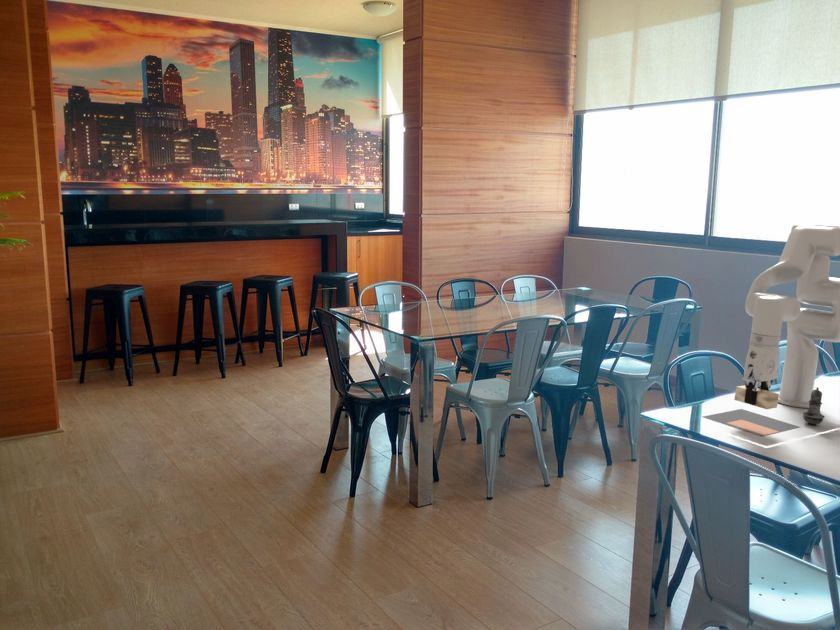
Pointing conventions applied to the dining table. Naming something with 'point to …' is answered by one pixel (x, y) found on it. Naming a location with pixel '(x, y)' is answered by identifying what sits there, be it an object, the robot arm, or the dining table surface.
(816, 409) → the dark grey tower figurine
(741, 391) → the light wood block
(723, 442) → the dining table surface
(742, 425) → the mat
